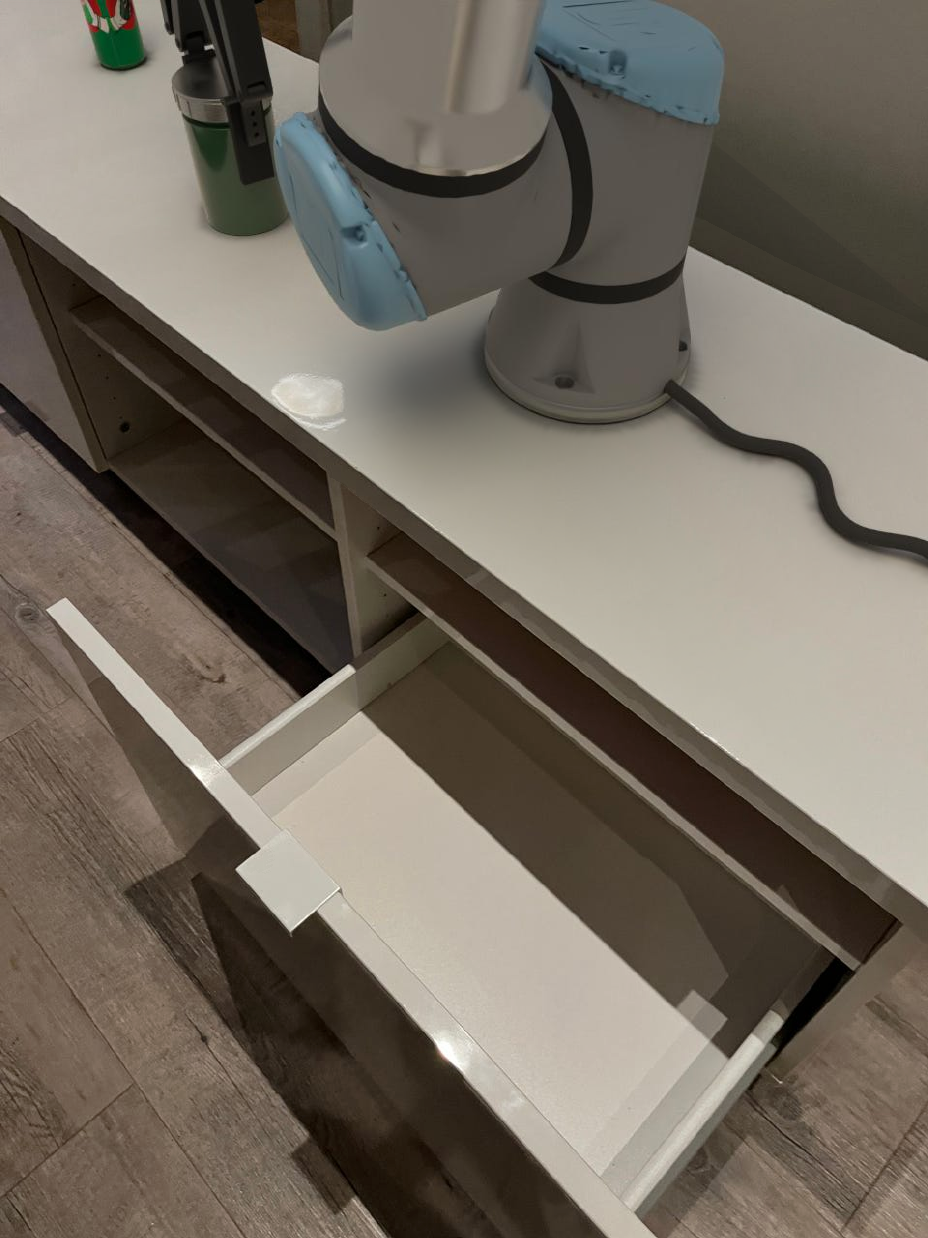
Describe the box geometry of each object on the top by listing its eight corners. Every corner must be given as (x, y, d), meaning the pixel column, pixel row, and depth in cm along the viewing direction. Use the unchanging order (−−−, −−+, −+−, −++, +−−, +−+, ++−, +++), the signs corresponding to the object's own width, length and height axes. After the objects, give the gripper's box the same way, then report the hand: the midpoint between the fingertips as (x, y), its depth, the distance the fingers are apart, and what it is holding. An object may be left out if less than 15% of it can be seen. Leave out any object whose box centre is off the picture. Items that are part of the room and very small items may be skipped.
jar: (300, 223, 80) (280, 97, 72) (220, 243, 78) (190, 117, 70) (273, 183, 84) (252, 59, 76) (196, 202, 82) (165, 77, 74)
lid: (213, 132, 70) (208, 109, 69) (157, 98, 74) (152, 75, 72) (292, 99, 73) (288, 77, 72) (236, 68, 77) (231, 45, 75)
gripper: (56, -228, 63) (148, 117, 81) (171, -145, 53) (247, 227, 71) (160, -243, 65) (227, 95, 84) (289, -167, 55) (333, 199, 73)
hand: (236, 156), depth 77 cm, fingers open, 8 cm apart
